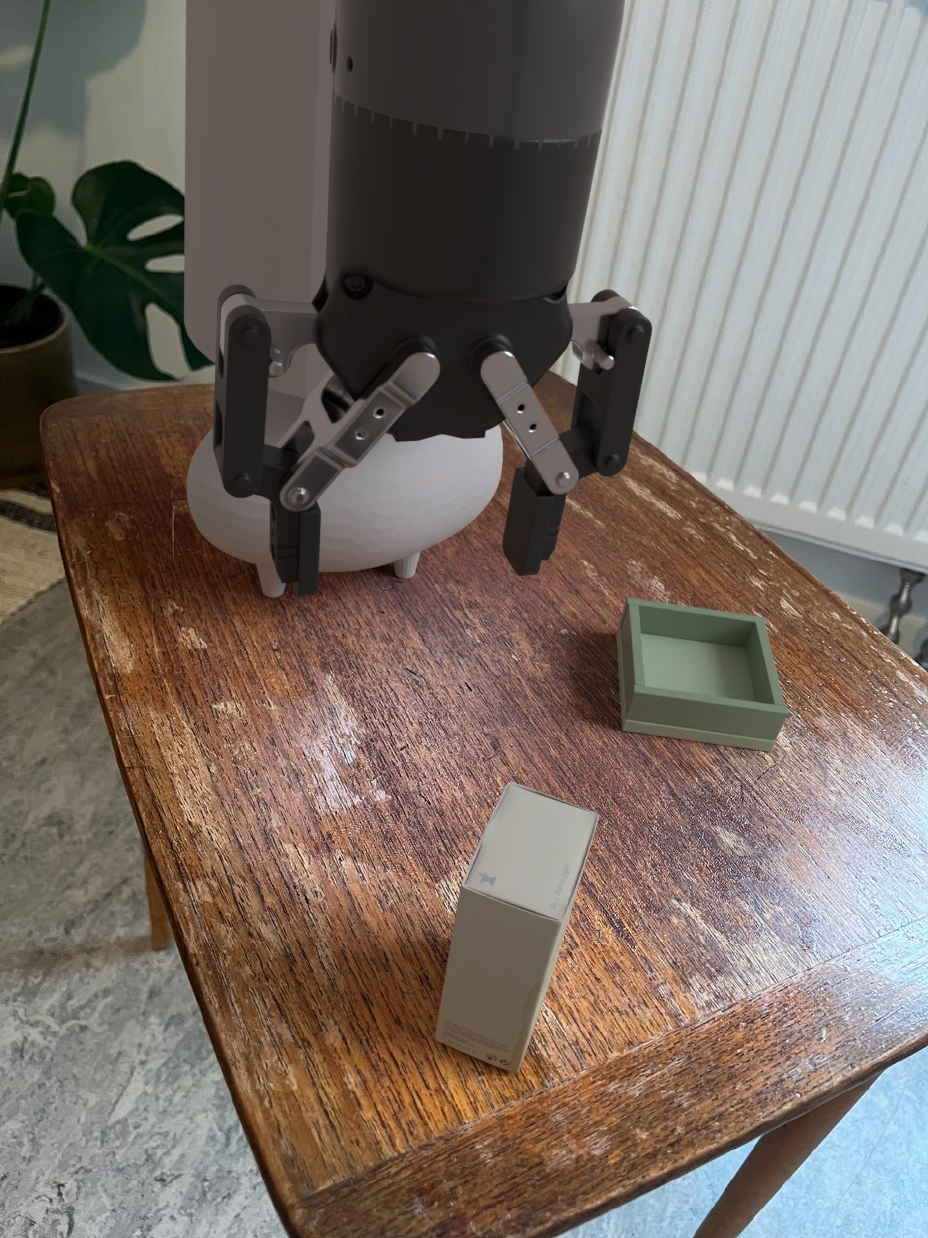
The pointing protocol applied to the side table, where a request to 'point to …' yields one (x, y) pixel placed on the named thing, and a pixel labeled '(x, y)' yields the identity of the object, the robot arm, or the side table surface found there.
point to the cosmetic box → (512, 924)
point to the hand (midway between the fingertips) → (415, 573)
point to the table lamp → (293, 286)
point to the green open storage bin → (698, 675)
